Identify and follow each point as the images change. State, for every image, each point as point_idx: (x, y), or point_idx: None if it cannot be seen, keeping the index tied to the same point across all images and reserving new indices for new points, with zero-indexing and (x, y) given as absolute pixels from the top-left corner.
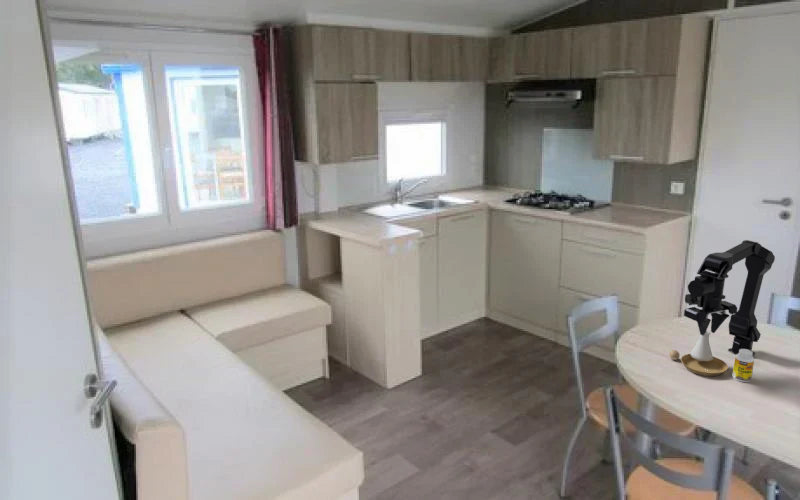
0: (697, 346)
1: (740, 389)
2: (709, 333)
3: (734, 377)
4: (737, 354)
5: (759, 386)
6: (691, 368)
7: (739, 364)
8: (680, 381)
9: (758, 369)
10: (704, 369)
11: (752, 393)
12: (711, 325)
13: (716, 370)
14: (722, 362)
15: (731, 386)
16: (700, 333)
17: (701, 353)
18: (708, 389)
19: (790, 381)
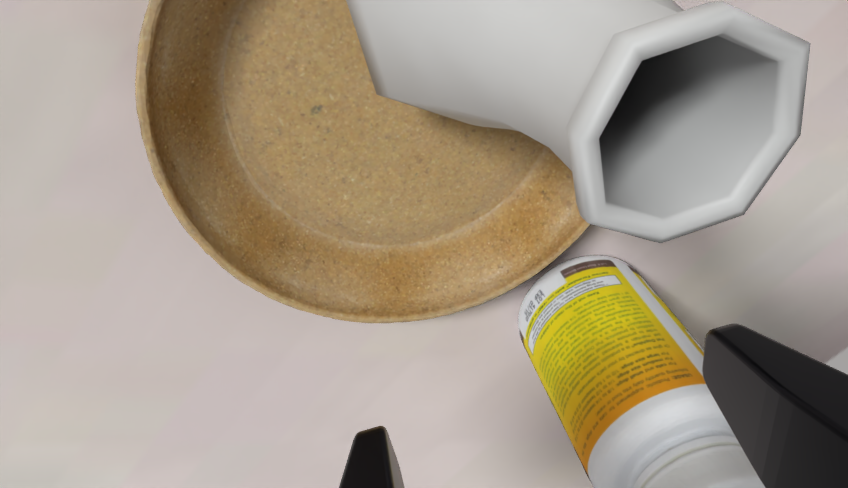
0: (435, 31)
1: (445, 420)
2: (704, 223)
3: (520, 321)
4: (654, 435)
5: None
6: (182, 225)
7: (573, 443)
8: (7, 309)
9: (832, 189)
10: (395, 125)
11: (480, 456)
12: (844, 452)
13: (493, 165)
14: None
15: (414, 389)
16: (352, 457)
17: (427, 104)
18: (209, 419)
19: (828, 350)
